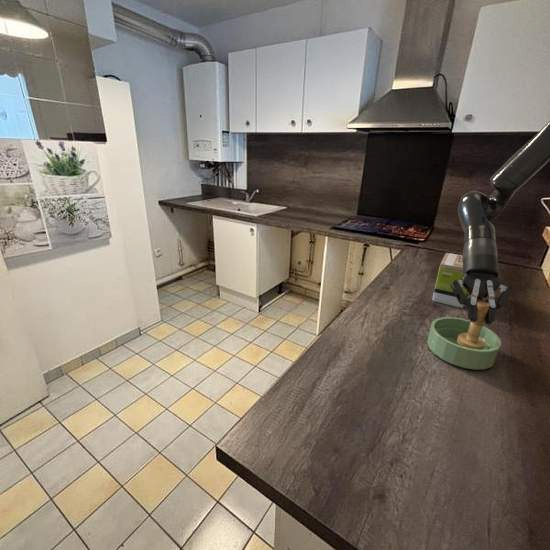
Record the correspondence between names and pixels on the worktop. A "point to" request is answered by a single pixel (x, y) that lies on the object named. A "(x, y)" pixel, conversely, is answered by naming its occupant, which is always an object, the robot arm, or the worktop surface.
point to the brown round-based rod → (475, 329)
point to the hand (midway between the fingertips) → (481, 322)
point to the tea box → (449, 280)
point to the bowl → (449, 350)
